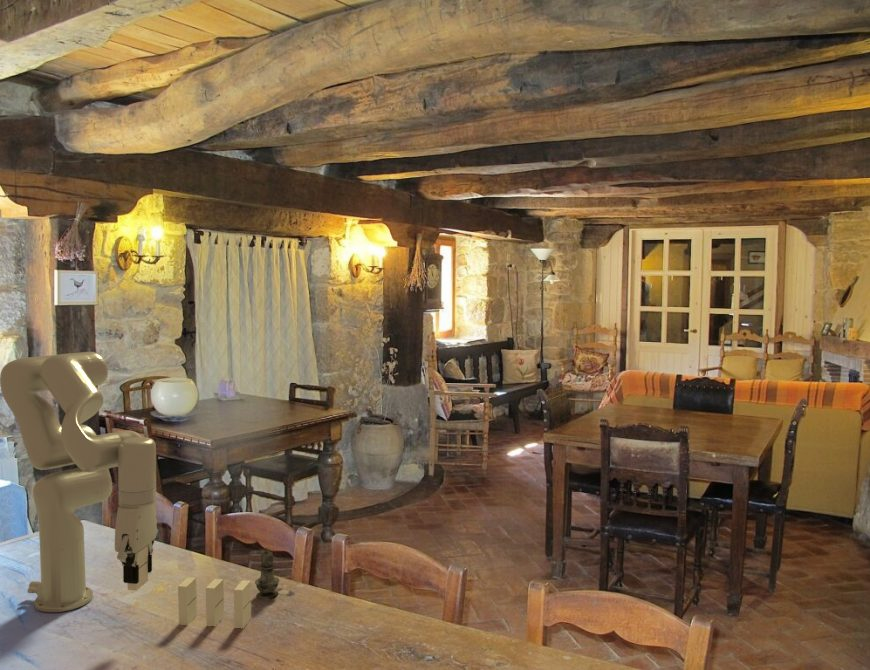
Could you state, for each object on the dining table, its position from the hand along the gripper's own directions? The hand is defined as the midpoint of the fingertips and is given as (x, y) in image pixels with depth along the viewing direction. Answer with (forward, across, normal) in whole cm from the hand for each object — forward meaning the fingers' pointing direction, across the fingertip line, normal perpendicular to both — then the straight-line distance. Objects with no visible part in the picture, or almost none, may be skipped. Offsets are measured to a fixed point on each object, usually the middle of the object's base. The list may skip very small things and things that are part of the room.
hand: (137, 576), depth 161 cm
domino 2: (+13, -8, +8) cm, 18 cm away
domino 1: (+2, 0, 0) cm, 2 cm away
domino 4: (+13, -8, +20) cm, 26 cm away
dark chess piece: (+14, -24, +21) cm, 34 cm away
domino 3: (+13, -8, +14) cm, 21 cm away
